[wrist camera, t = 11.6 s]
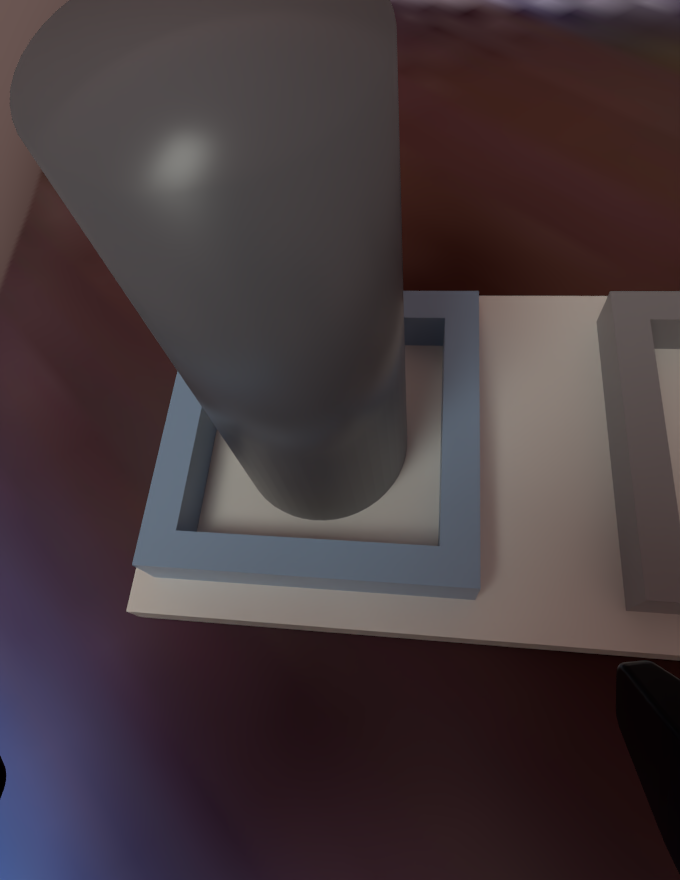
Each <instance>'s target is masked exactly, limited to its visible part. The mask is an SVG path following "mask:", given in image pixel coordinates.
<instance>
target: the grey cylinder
mask: <svg viewBox="0 0 680 880" xmlns="http://www.w3.org/2000/svg"><path fill="white" fill-rule="evenodd" d="M10 108H11V115H12V120H13V123H14V125H15V128H16V130H17V133H18V135H19V137H20V138H21V140H22V141H23V143H24V144H25V146H26V147H27V149H28V150H29V151H30V153H31V155H32V156H33V158H34V159H35V160H36V162H37V163H38V165H39V166H40V168H41V169H42V171H43V172H44V174H45V175H46V177H47V178H48V180H49V181H50V183H51V184H52V186H53V187H54V189H55V190H56V192H57V193H58V195H59V196H60V198H61V199H62V201H63V202H64V203H65V205H66V206H67V208H68V209H69V211H70V212H71V214H72V215H73V217H74V218H75V220H76V221H77V223H78V224H79V226H80V227H81V229H82V230H83V232H84V233H85V235H86V236H87V238H88V239H89V240H90V242H91V243H92V245H93V246H94V248H95V249H96V251H97V252H98V254H99V255H100V257H101V258H102V260H103V261H104V263H105V264H106V266H107V267H108V269H109V270H110V272H111V273H112V275H113V276H114V277H115V279H116V280H117V282H118V283H119V285H120V286H121V288H122V289H123V291H124V292H125V294H126V295H127V297H128V298H129V300H130V301H131V303H132V304H133V306H134V307H135V309H136V310H137V312H138V313H139V315H140V316H141V317H142V319H143V320H144V322H145V323H146V325H147V326H148V328H149V329H150V331H151V332H152V334H153V335H154V337H155V338H156V340H157V341H158V343H159V344H160V346H161V347H162V349H163V350H164V352H165V353H166V354H167V356H168V357H169V359H170V360H171V362H172V363H173V365H174V366H175V368H176V369H177V371H178V372H179V374H180V375H181V377H182V378H183V380H184V381H185V383H186V384H187V386H188V387H189V389H190V390H191V391H192V393H193V394H194V396H195V397H196V399H197V400H198V402H199V403H200V405H201V406H202V408H203V409H204V411H205V412H206V414H207V415H208V417H209V418H210V420H211V421H212V423H213V424H214V426H215V427H216V428H217V430H218V431H219V433H220V434H221V436H222V437H223V439H224V440H225V442H226V443H227V445H228V446H229V448H230V449H231V451H232V452H233V454H234V455H235V457H236V458H237V460H238V461H239V463H240V464H241V466H242V467H243V468H244V470H245V471H246V473H247V474H248V476H249V477H250V479H251V480H252V482H253V483H254V485H255V486H256V488H257V489H258V491H259V492H260V493H261V494H262V495H263V497H264V498H265V499H266V500H267V501H269V502H270V503H271V504H272V505H273V506H275V507H276V508H278V509H280V510H281V511H283V512H285V513H288V514H290V515H292V516H295V517H299V518H302V519H308V520H322V521H326V520H335V519H340V518H344V517H348V516H351V515H353V514H356V513H359V512H360V511H362V510H364V509H366V508H368V507H370V506H371V505H372V504H374V503H375V502H377V501H378V500H379V499H380V498H381V497H382V496H383V495H384V494H386V492H387V491H388V490H389V489H390V488H391V486H392V485H393V484H394V482H395V481H396V479H397V477H398V476H399V474H400V471H401V469H402V467H403V464H404V461H405V457H406V451H407V413H406V375H405V337H404V299H403V261H402V222H401V184H400V146H399V108H398V70H397V32H396V20H395V15H394V10H393V7H392V5H391V2H390V0H69V1H68V2H67V3H65V4H64V5H63V6H62V7H61V8H59V9H58V10H57V11H56V12H55V13H54V14H53V15H52V16H51V17H50V18H49V19H48V20H47V21H46V22H45V23H44V24H43V25H42V27H41V28H40V29H39V30H38V32H37V33H36V34H35V35H34V37H33V38H32V40H31V41H30V42H29V44H28V46H27V47H26V49H25V51H24V52H23V54H22V55H21V58H20V60H19V62H18V65H17V67H16V70H15V72H14V76H13V80H12V84H11V90H10Z"/></svg>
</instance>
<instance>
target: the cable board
mask: <svg viewBox="0 0 680 880" xmlns="http://www.w3.org/2000/svg"><path fill="white" fill-rule="evenodd" d="M403 299H404V337H405V375H406V413H407V451H406V457H405V461H404V464H403V467H402V469H401V471H400V474H399V476H398V477H397V479H396V481H395V482H394V484H393V485H392V486H391V488H390V489H389V490H388V491H387V492H386V494H384V495H383V496H382V497H381V498H380V499H379V500H378V501H377V502H375V503H374V504H372V505H371V506H370V507H368V508H366V509H364V510H362V511H360V512H359V513H356V514H353V515H351V516H348V517H344V518H340V519H335V520H326V521H322V520H308V519H302V518H299V517H295V516H292V515H290V514H288V513H285V512H283V511H281V510H280V509H278V508H276V507H275V506H273V505H272V504H271V503H270V502H269V501H267V500H266V499H265V498H264V497H263V495H262V494H261V493H260V492H259V491H258V489H257V488H256V486H255V485H254V483H253V482H252V480H251V479H250V477H249V476H248V474H247V473H246V471H245V470H244V468H243V467H242V466H241V464H240V463H239V461H238V460H237V458H236V457H235V455H234V454H233V452H232V451H231V449H230V448H229V446H228V445H227V443H226V442H225V440H224V439H223V437H222V436H221V434H220V433H219V431H218V430H217V428H216V427H215V426H214V424H213V423H212V421H211V420H210V418H209V417H208V415H207V414H206V412H205V411H204V409H203V408H202V406H201V405H200V403H199V402H198V400H197V399H196V397H195V396H194V394H193V393H192V391H191V390H190V389H189V387H188V386H187V384H186V383H185V381H184V380H183V378H182V377H181V375H180V374H179V372H178V371H177V376H176V380H175V384H174V388H173V393H172V397H171V401H170V405H169V410H168V414H167V418H166V423H165V427H164V431H163V435H162V440H161V444H160V448H159V452H158V457H157V461H156V465H155V470H154V474H153V478H152V482H151V487H150V491H149V495H148V499H147V504H146V508H145V512H144V516H143V521H142V525H141V529H140V534H139V538H138V542H137V546H136V551H135V555H134V559H133V563H132V565H133V566H135V567H136V571H135V576H134V580H133V584H132V589H131V593H130V597H129V602H128V606H127V610H126V611H127V612H129V613H132V614H134V615H137V616H140V617H148V618H160V619H172V620H185V621H197V622H209V623H222V624H234V625H246V626H259V627H271V628H283V629H296V630H308V631H320V632H333V633H345V634H357V635H370V636H382V637H394V638H406V639H419V640H431V641H443V642H456V643H468V644H480V645H493V646H505V647H517V648H530V649H542V650H554V651H567V652H579V653H591V654H604V655H616V656H628V657H641V658H653V659H665V660H678V661H680V291H610V293H609V295H608V296H479V291H403Z"/></svg>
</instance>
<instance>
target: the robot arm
mask: <svg viewBox="0 0 680 880" xmlns="http://www.w3.org/2000/svg"><path fill="white" fill-rule="evenodd" d="M616 714H617V720H618V724H619V727H620V730H621V733H622V735H623V738H624V741H625V743H626V746H627V748H628V751H629V753H630V756H631V759H632V761H633V764H634V766H635V769H636V771H637V774H638V776H639V779H640V782H641V784H642V787H643V789H644V792H645V794H646V797H647V800H648V802H649V805H650V807H651V810H652V812H653V815H654V817H655V820H656V823H657V825H658V828H659V830H660V832H661V835H662V837H663V840H664V842H665V845H666V847H667V849H668V851H669V853H670V855H671V857H672V859H673V862H674V864H675V866H676V868H677V870H678V872H679V874H680V679H679V678H677V677H675V676H674V675H672V674H671V673H669V672H668V671H666V670H665V669H663V668H661V667H660V666H658V665H657V664H655V663H653V662H651V661H647V660H643V661H633V662H623V663H621V664H620V665H619V666H618V668H617V674H616ZM5 782H6V769H5V766H4V763H3V761H2V759H1V756H0V798H1V795H2V793H3V790H4V787H5Z"/></svg>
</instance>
